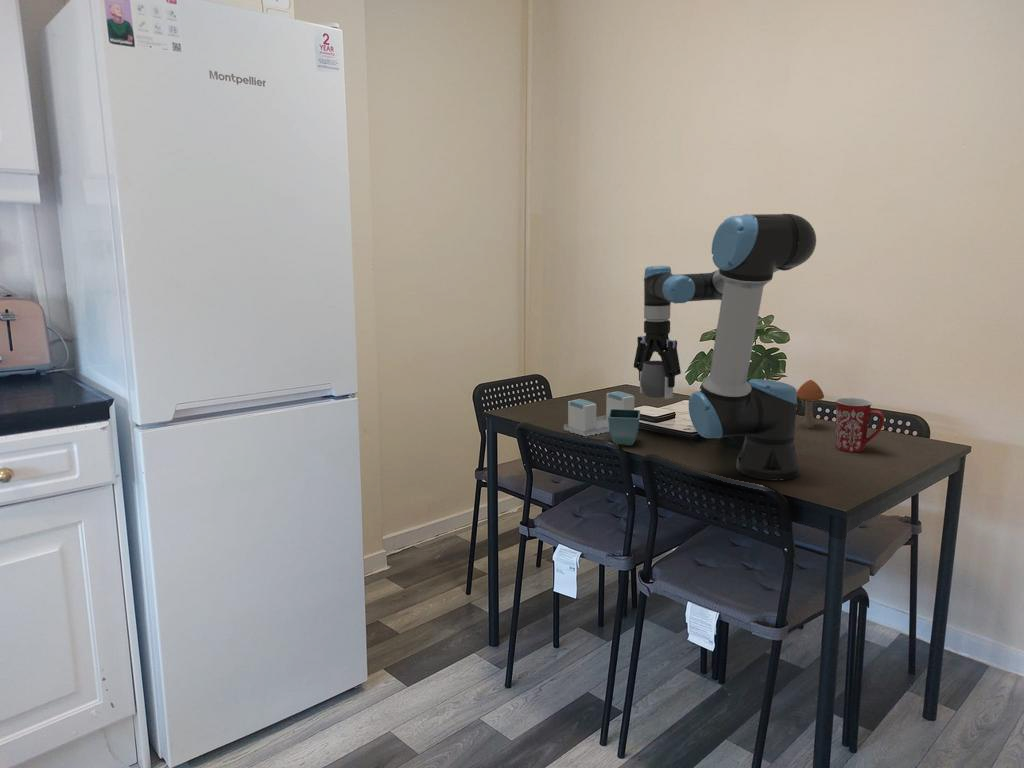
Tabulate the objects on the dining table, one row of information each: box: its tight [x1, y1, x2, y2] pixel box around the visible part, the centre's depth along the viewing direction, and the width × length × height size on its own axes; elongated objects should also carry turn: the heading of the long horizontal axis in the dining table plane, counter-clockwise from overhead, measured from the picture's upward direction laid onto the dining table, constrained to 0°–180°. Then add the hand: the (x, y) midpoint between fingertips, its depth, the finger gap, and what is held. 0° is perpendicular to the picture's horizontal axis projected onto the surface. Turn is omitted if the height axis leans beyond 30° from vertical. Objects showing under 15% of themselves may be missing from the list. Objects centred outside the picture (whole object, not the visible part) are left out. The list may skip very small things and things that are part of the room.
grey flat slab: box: [563, 415, 610, 437], centre depth 221 cm, size 10×22×2 cm, turn 124°
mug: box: [835, 397, 885, 453], centre depth 193 cm, size 13×9×14 cm
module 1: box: [567, 398, 597, 432], centre depth 216 cm, size 8×5×8 cm, turn 34°
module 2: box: [605, 390, 635, 418], centre depth 224 cm, size 8×5×8 cm, turn 34°
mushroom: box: [796, 379, 825, 429], centre depth 214 cm, size 8×8×15 cm
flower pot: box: [608, 409, 641, 446], centre depth 204 cm, size 9×9×9 cm
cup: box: [639, 360, 671, 399], centre depth 209 cm, size 10×9×10 cm
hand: (656, 395), depth 210 cm, fingers closed on cup, 9 cm apart
